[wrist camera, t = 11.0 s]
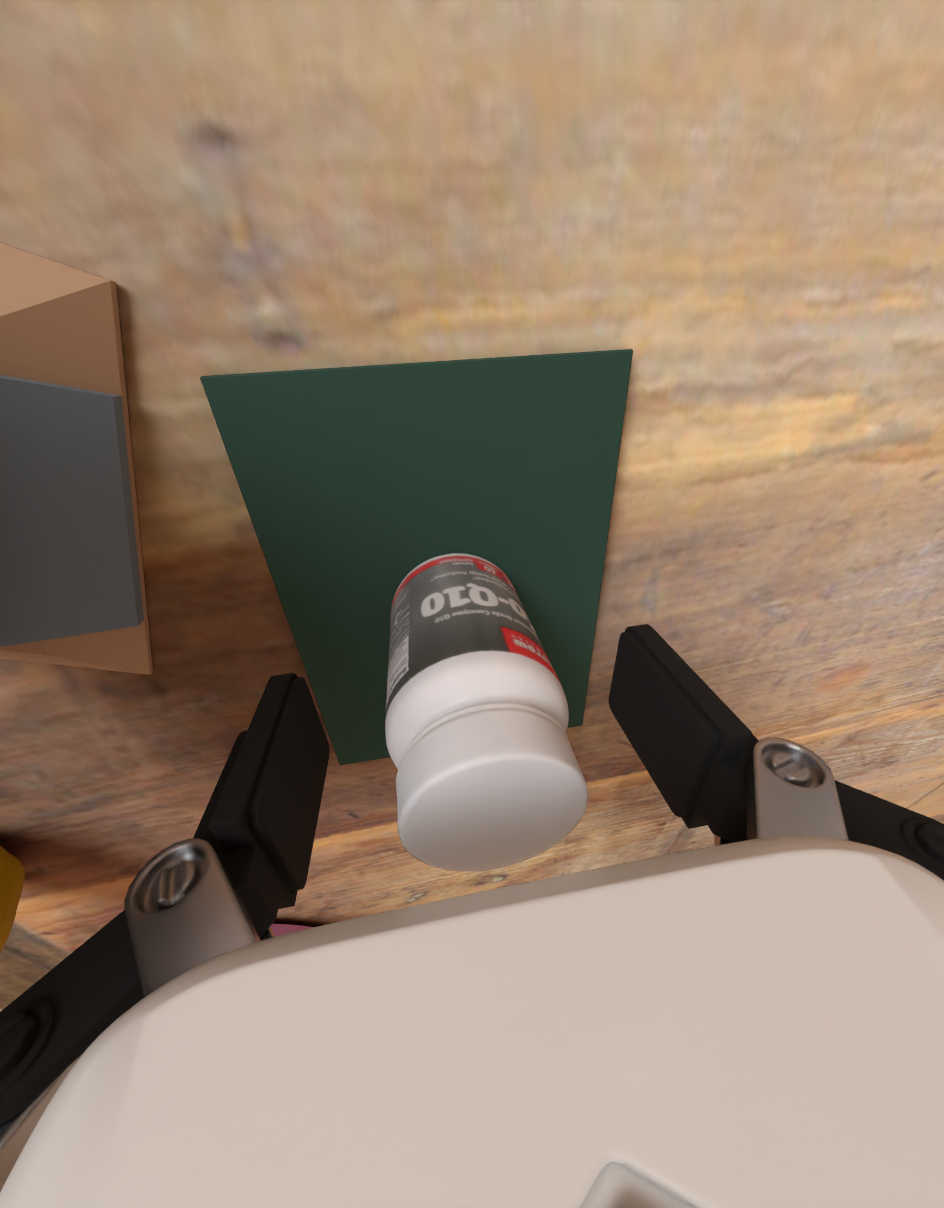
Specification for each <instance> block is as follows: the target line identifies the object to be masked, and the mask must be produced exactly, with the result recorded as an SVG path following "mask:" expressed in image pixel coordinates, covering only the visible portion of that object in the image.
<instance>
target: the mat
mask: <svg viewBox="0 0 944 1208" xmlns="http://www.w3.org/2000/svg"><path fill="white" fill-rule="evenodd" d="M632 355H633V350H632V349H626V350H610V351H594V352H579V353H563V354H547V355H531V356H515V357H499V358H483V359H467V360H452V361H436V362H420V363H404V364H388V365H372V366H356V367H341V368H325V369H309V370H293V371H277V372H261V373H245V374H230V375H214V376H202V377H201V382H202V384H203V387H204V390H205V393H206V395H207V398H208V401H209V404H210V407H211V409H212V412H213V415H214V418H215V420H216V423H217V426H218V429H219V431H220V434H221V437H222V440H223V443H224V445H225V448H226V451H227V454H228V456H229V459H230V462H231V465H232V467H233V470H234V473H235V476H236V479H237V481H238V484H239V487H240V490H241V492H242V495H243V498H244V501H245V503H246V506H247V509H248V512H249V515H250V517H251V520H252V523H253V526H254V528H255V531H256V534H257V537H258V539H259V542H260V545H261V548H262V551H263V553H264V556H265V559H266V562H267V564H268V567H269V570H270V573H271V575H272V578H273V581H274V584H275V587H276V589H277V592H278V595H279V598H280V600H281V603H282V606H283V609H284V611H285V614H286V617H287V620H288V623H289V625H290V628H291V631H292V634H293V636H294V639H295V642H296V645H297V647H298V650H299V653H300V656H301V659H302V661H303V664H304V667H305V670H306V672H307V675H308V678H309V681H310V683H311V686H312V689H313V692H314V694H315V697H316V700H317V703H318V706H319V708H320V711H321V714H322V717H323V719H324V722H325V725H326V728H327V730H328V733H329V736H330V739H331V742H332V744H333V747H334V750H335V753H336V755H337V758H338V761H339V764H340V765H345V764H351V763H357V762H363V761H369V760H375V759H381V758H388V757H390V754H389V751H388V748H387V744H386V732H385V715H386V699H387V680H388V662H389V643H390V618H391V608H392V602H393V598H394V595H395V593H396V591H397V589H398V587H399V585H400V584H401V582H402V581H403V579H404V578H405V577H406V576H407V574H408V573H409V572H411V571H412V570H413V569H414V568H415V567H417V566H418V565H420V564H421V563H423V562H425V561H427V560H429V559H431V558H434V557H437V556H441V555H445V554H452V553H462V554H470V555H475V556H478V557H481V558H483V559H485V560H487V561H489V562H491V563H493V564H494V565H496V566H497V567H498V568H500V569H501V570H502V571H503V572H504V573H505V574H506V576H507V577H508V578H509V580H510V582H511V583H512V585H513V587H514V589H515V591H516V593H517V595H518V597H519V600H520V602H521V604H522V606H523V608H524V610H525V612H526V614H527V616H528V618H529V620H530V622H531V624H532V626H533V628H534V630H535V633H536V635H537V637H538V639H539V641H540V643H541V645H542V647H543V649H544V651H545V653H546V655H547V657H548V659H549V661H550V663H551V665H552V667H553V669H554V671H555V673H556V675H557V677H558V679H559V681H560V683H561V685H562V688H563V691H564V694H565V696H566V700H567V704H568V711H569V721H568V727H567V728H570V727H576V726H582V724H583V716H584V709H585V701H586V694H587V687H588V679H589V672H590V665H591V657H592V650H593V642H594V635H595V628H596V620H597V613H598V605H599V598H600V591H601V583H602V576H603V569H604V561H605V554H606V546H607V539H608V532H609V524H610V517H611V510H612V502H613V495H614V487H615V480H616V473H617V465H618V458H619V450H620V443H621V436H622V428H623V421H624V414H625V406H626V399H627V391H628V384H629V377H630V369H631V362H632Z"/></svg>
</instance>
